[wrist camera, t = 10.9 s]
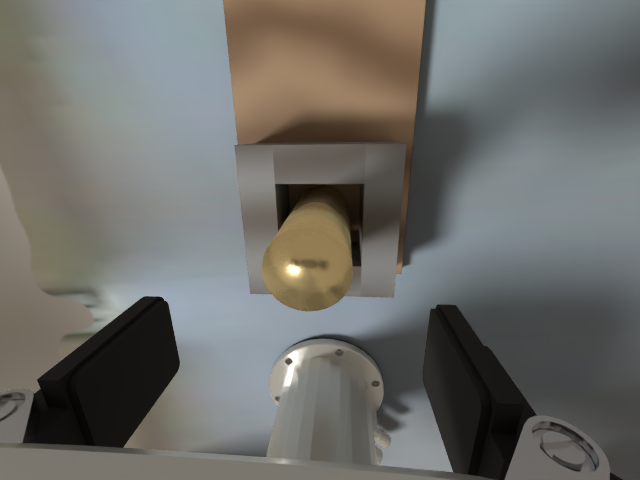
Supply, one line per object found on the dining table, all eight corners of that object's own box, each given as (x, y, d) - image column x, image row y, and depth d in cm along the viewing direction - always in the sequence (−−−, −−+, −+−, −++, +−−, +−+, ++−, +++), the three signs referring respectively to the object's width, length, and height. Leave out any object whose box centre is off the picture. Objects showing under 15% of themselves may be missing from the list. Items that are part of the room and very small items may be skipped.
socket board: (399, 268, 28) (413, 303, 22) (254, 265, 29) (232, 298, 23) (423, -19, 21) (455, -78, 15) (227, -9, 22) (185, -61, 16)
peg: (359, 211, 25) (372, 274, 14) (322, 244, 27) (307, 326, 15) (323, 173, 24) (305, 208, 13) (287, 209, 26) (243, 269, 14)
